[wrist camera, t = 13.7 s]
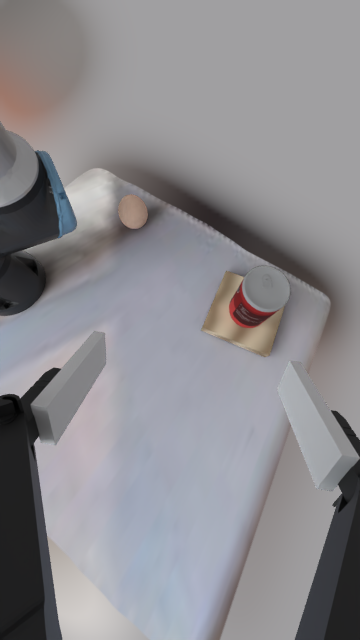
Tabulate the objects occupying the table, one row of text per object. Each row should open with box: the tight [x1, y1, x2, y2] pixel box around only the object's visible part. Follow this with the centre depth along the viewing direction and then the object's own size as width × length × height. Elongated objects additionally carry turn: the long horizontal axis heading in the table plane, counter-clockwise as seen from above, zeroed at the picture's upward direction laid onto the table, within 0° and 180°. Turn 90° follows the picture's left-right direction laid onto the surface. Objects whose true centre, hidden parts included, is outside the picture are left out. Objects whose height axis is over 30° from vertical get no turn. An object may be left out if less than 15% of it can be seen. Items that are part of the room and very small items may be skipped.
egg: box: [118, 194, 148, 229], centre depth 52 cm, size 7×7×8 cm
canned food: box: [229, 266, 291, 328], centre depth 40 cm, size 8×8×11 cm
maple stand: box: [201, 271, 285, 357], centre depth 47 cm, size 14×14×3 cm
